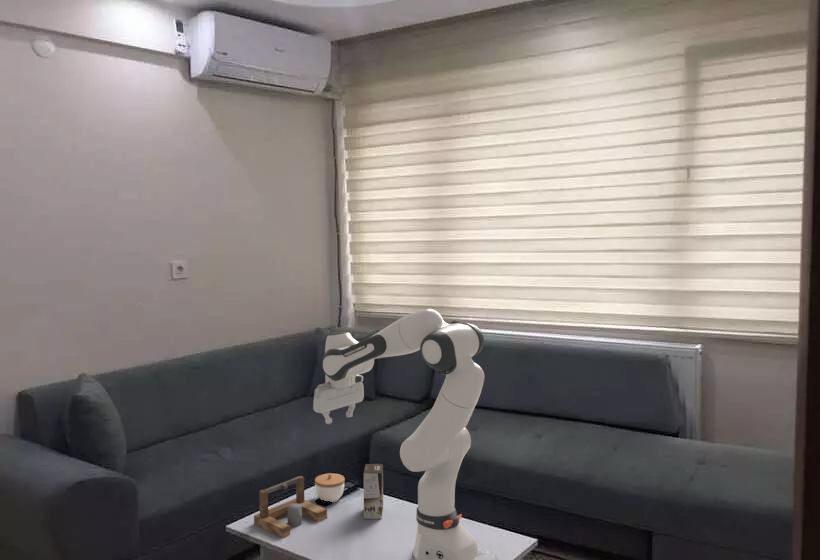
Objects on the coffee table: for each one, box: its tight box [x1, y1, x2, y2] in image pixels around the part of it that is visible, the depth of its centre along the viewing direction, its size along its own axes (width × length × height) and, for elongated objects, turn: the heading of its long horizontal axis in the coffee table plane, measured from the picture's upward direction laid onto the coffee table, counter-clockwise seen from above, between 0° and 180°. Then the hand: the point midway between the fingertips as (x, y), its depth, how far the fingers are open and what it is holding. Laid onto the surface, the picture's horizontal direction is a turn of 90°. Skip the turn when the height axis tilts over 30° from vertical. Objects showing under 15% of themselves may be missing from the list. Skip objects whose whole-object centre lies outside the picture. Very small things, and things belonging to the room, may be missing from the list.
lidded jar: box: [314, 472, 346, 504], centre depth 249 cm, size 11×11×9 cm
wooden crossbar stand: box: [253, 475, 328, 539], centre depth 231 cm, size 15×19×12 cm
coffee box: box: [363, 463, 384, 520], centre depth 237 cm, size 9×6×16 cm
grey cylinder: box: [287, 504, 303, 528], centre depth 229 cm, size 5×5×6 cm
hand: (339, 420), depth 231 cm, fingers open, 8 cm apart
